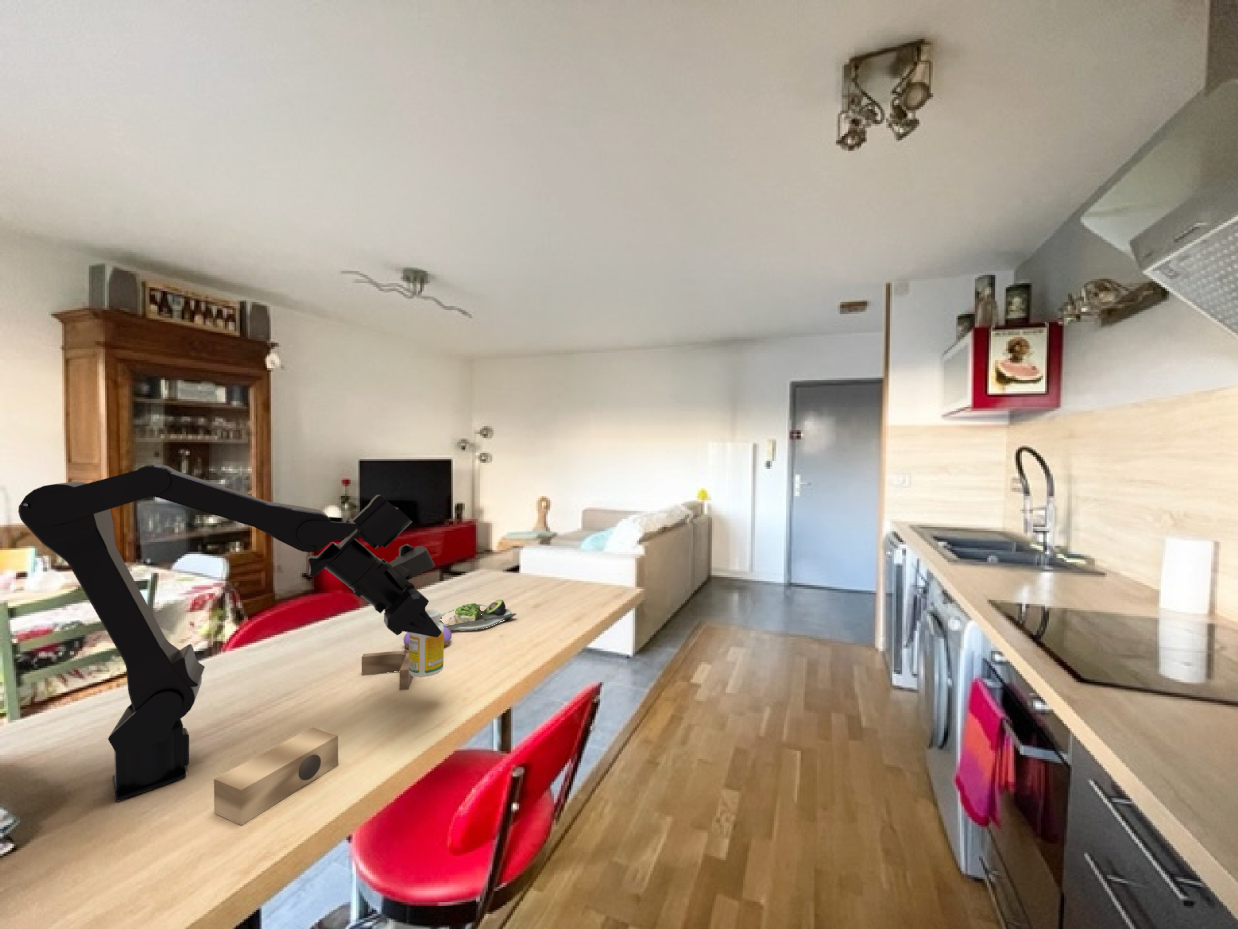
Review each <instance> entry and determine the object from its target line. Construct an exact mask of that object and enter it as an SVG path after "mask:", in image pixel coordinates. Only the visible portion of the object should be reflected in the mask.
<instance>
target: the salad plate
mask: <svg viewBox="0 0 1238 929" xmlns="http://www.w3.org/2000/svg"><path fill="white" fill-rule="evenodd" d="M480 606H484V607H487V608H486V609H485V610H484V611H481V610H480ZM506 607H507V606H506V603H505V602H504V600H503V599H497V600H495V601H493V602H491V603H490V604H489V605H488V604H483V603H476V602H474V603H467V604H463V605H461V606H458V607H457V608H454V609H452V610H448V611H446V612H443V613H440V619H442V616H444V615H445V614H446V613H450V612H452V611H454V610H455V609H456V610H455V617H454V621H455V623H454V624H453V625H449V624H450V623H448V624H444V623H443V622H442V621H441V620H440V621H439V622H438V623H440V624H442V625H443V626H444V627H446V628H448V629H449V630H450V631H453V630H475V631H477V630H476V629H483V628H486V627H489V626H492V625H494V624H496V623H499V622H500V621H503V620H506V619H508V620H509V618H510V619H511V618H513V617H515V616H516V615H517V613H516V612H515V613H512V611H511V610H510V609H508V608H506ZM481 614H482V615H481ZM506 621H507V620H506ZM494 626H495V625H494ZM492 627H493V626H492ZM483 630H484V629H483Z"/></svg>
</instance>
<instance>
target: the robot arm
mask: <svg viewBox="0 0 1238 929" xmlns="http://www.w3.org/2000/svg"><path fill="white" fill-rule="evenodd" d="M150 497H151V498H157V499H158V498H159V499H160V500H164V501H168V502H171V503H174V504H177V505H180V506H184V507H187V508H191V509H194V510H196V511H200V512H204V513H207V514H211V515H213V516H216V517H220V518H223V519H226V520H231V521H233V522H236V523H239V524H243V525H246V526H250V527H253V528H255V529H257V530H259V531H261V532H263V533H265V534H266V535H269V536H271V537H272V538H274V539H275V540H277V541H279V542H280V543H281V542H282V543H283V544H285V545H287V546H289V547H292V548H293V549H296V550H298V551H299V552H303V553H314V552H317V551H320V550H322V549H323V551H321V552H320V553H319V554H318V555H310V556H308V557H307V561H308V563H309V569H308V572H309V576H310V577H311V578H315V577H316V576H317V575H318V574H319V573H320V572H322V571H323V569H325V570H327V571H328V573H330V574H332V575H333V576H334V577H336V578H337V579H338V580H339V581H341V582H342V583H343V584H345V586H347V587H348V588H349V589H351V590H352V592H353V594H354V595H356V596H357V597H358V598H363V599H364V600H365V601H366V602H368V603H369V604H370V605H371V606H372V607H373V608H374V610H375V611H376V612H377V613H379V614H382V613H383V612H384V613H383V623H384V624H385V627H386V628H387V629H388V630H390V632H392V633H393V634H395V635H396V636H399V635H401V634H402V633H403V632H404V633H407V632H410V633H416V634H421V635H426V636H431V637H439V635H440V634H441V633H442V631H441V630H440V629H439V628H438V626H437V625H436V624H435V623H434V621H433V620H432V619H431V617H430V616H429V615H428V614H427V612H426V611H425V610H426V607H427V606H428V604H429V603H430V600H429V599H428V598H427V597H426V596H425V595H424V594H423V593H422V592H420V590H418V589H417V588H415V585H414V583H413V582H410V580H411V579H412V578H415V577H416V576H419V575H420V574H422V573H424V572H425V571H430V570H432V569H433V568H434V567H435V566H436V565H435V562H434V561H433V559H432V557H431V555H430V552H429V551H428V549H427V548H426V547H424V545H420V546H419V545H417V546H416V547H415V548H414V547H413V546H412V545H410V544H408V543H406V544H404V545H402V546H400V547H398V556H396V557H395V559H393V560H391V561H390V562H388V561H386V560H385V559H384V558H382V559H381V558H379V557H378V556H376V555H375V554H374V553H373V552H372V551H371V550H369V549H368V548H367V547H366V546H365V545H364V544H362V543H361V542H359V541H358V540H357V539H356V538H358V537H360V538H361V539H362V540H363V541H364V542H365V543H367V544H368V545H369V546H370V547H371V548H373V549H374V550H376V549H377V548H379V549H381V548H382V547H383V548H385V549H386V548H387V547H388V546H389V545H390V544H392V542H393V541H395V539H397V537H399V536H400V535H401V533H403V531H405V530H406V529H407V527H409V526H410V525H411V524H412V523H413V520H411V519H410V518H409V517H408V516H407V515H406V514H405V513H404V512H403V511H402V510H401V509H400V508H399V507H396V506H394V505H393V504H392V503H390V501H388V500H387V499H386V498H384V496H382V495H381V494H376V495H374V497H373V498H372V499H371V500H370V501H369V503H368V504H367V505H366V506H365V507H364V508H363V509H362V510H361V511H359V513H358V514H356V515H355V516H354V517H353V518H351V517H346V516H344V517H339V516H328V515H327V514H326V512H324V511H322V510H320V509H316V508H311V507H305V506H300V505H293V504H287V503H280V502H279V503H278V502H273V501H268V500H265V499H261V498H259V497H255V496H252V495H251V494H246V493H244V492H241V491H237V490H235V489H232V488H229V487H227V486H223V485H220V484H217V483H214V482H212V481H209V480H204V479H202V478H198V477H196V476H192V475H189V474H187V473H184V472H180V471H178V470H176V469H174V468H172V467H170V466H169V465H165V464H149V465H148V464H147V465H144V466H142V467H139V468H138V469H137V470H132V471H128V472H125V473H122V474H121V473H120V474H118V475H114V476H111V477H107V478H102V479H98V480H94V481H91V482H88V483H86V482H82V481H70V482H69V481H68V482H61V483H54V484H47V485H42V486H40V487H38V488H34V489H33V490H31V491H30V492H29V493H28V494H26V495H25V496H24V497H23V500H22V501H21V502H20V504H19V505H18V516H19V519H20V520H21V522H22V523H23V524H24V525H25V526H26V528H27V529H28V530H29V531H30V532H31V533H32V534H33V535H34V536H35V537H36V538H37V539H38V541H39V542H40V543H42V545H43V546H45V547H46V548H48V550H50V551H51V552H53V553H54V554H55V555H57V556H58V557H59V558H61V559H62V560H64V561H65V562H66V563H67V564H68V566H69V568H70V569H71V571H72V572H73V574H74V576H75V578H76V580H77V581H78V583H79V586H80V587H81V589H82V590H83V593H84V594H85V595H86V597H87V599H88V600H89V603H90V604H91V607H92V608H93V609H94V611H95V613H96V615H97V616H98V618H99V620H100V622H101V624H102V626H103V627H104V629H105V630H106V633H107V634H108V635H109V636H108V637H110V639H111V641H112V643H113V644H114V646H115V648H116V650H117V652H118V654H119V655H120V657H121V659H122V660H123V662H124V665H125V670H126V680H127V683H126V684H127V691H128V692H127V693H128V696H129V700H130V705H128V706H127V708H125V710H124V712H123V714H122V715H121V717H120V719H119V720H118V722H117V723H116V725H115V726H114V728H113V729H112V731H111V732H110V735H109V736H108V739H107V740H108V742H109V744H110V745H111V746H112V749H113V752H114V754H113V755H114V757H113V758H114V775H113V776H112V787H113V795H114V801H115V802H119V801H122V800H126V799H128V798H131V797H133V796H137V795H139V794H142V793H145V792H148V791H150V790H154V789H157V788H159V787H162V786H165V785H168V784H171V783H174V782H176V781H179V780H181V779H184V778H185V777H187V770H186V767H188V765H190V735H189V731H188V729H187V728H186V727H184V723H183V721H182V719H183V718H184V717H185V716H186V715H188V713H189V712H190V711H191V710H192V708H193V705H194V704H195V702H196V699H197V696H198V695H199V694H198V693H199V691H200V688H201V685H202V679H203V677H202V675H203V674H204V670H205V668H206V667H205V665H203V664H202V663H200V662H199V660H198V659H197V656H196V654H195V650H194V647H193V644H191V643H189V644H188V645H186V646H184V647H182V648H181V649H179V648H177V647H176V646H175V645H173V643H171V642H170V641H169V640H167V638H166V636H165V634H164V633H163V630H162V629H161V627H160V625H159V623H158V622H157V620H156V618H155V616H154V614H153V613H152V610H151V609H150V606H149V605H148V604H147V601H146V599H145V597H144V596H143V594H142V592H141V591H140V588H139V587H138V585H137V583H136V581H135V580H134V577H133V575H132V574H131V572H130V570H129V568H128V566H127V565H126V563H125V561H124V559H123V557H122V555H121V553H120V551H119V549H118V548H117V545H116V540H115V530H114V520H113V517H112V513H111V509H114V508H118V507H121V506H124V505H128V504H131V503H133V502H137V501H141V500H143V499H147V498H150ZM341 539H343V540H342V541H341V542H339V543H338V544H337V543H336V542H334V541H337V540H341ZM325 547H326V548H325Z"/></svg>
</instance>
